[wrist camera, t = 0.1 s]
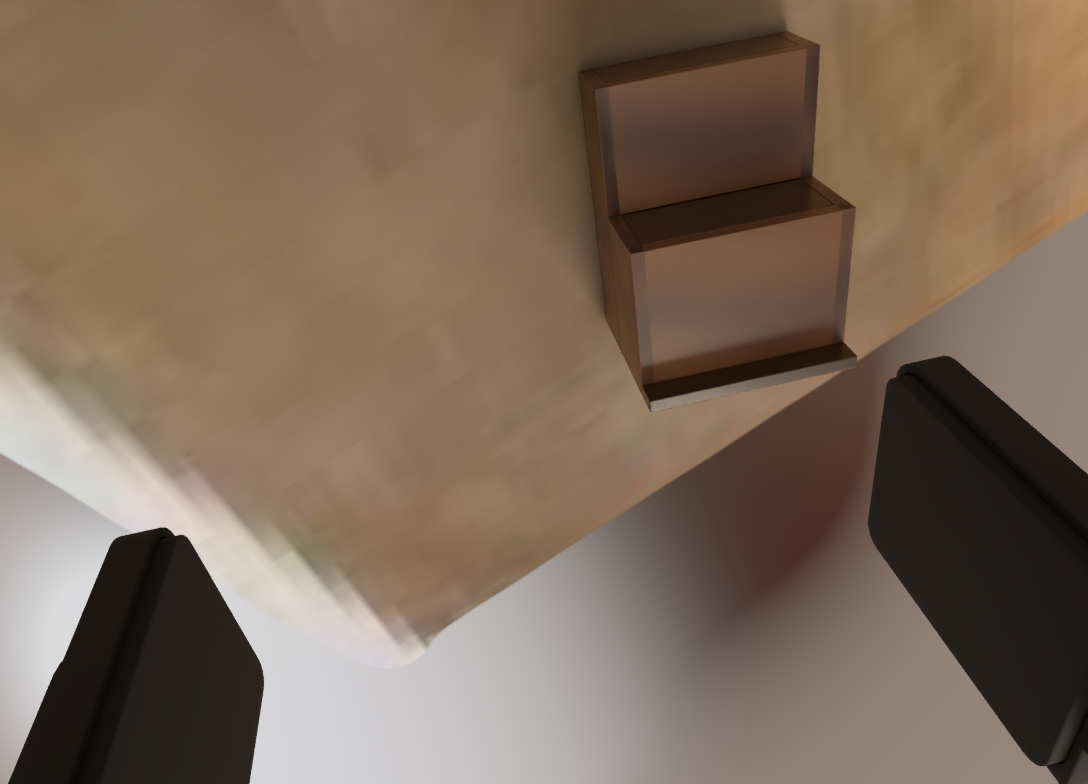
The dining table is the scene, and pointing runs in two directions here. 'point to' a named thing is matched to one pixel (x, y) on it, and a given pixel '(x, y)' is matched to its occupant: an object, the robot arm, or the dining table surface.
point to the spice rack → (717, 220)
